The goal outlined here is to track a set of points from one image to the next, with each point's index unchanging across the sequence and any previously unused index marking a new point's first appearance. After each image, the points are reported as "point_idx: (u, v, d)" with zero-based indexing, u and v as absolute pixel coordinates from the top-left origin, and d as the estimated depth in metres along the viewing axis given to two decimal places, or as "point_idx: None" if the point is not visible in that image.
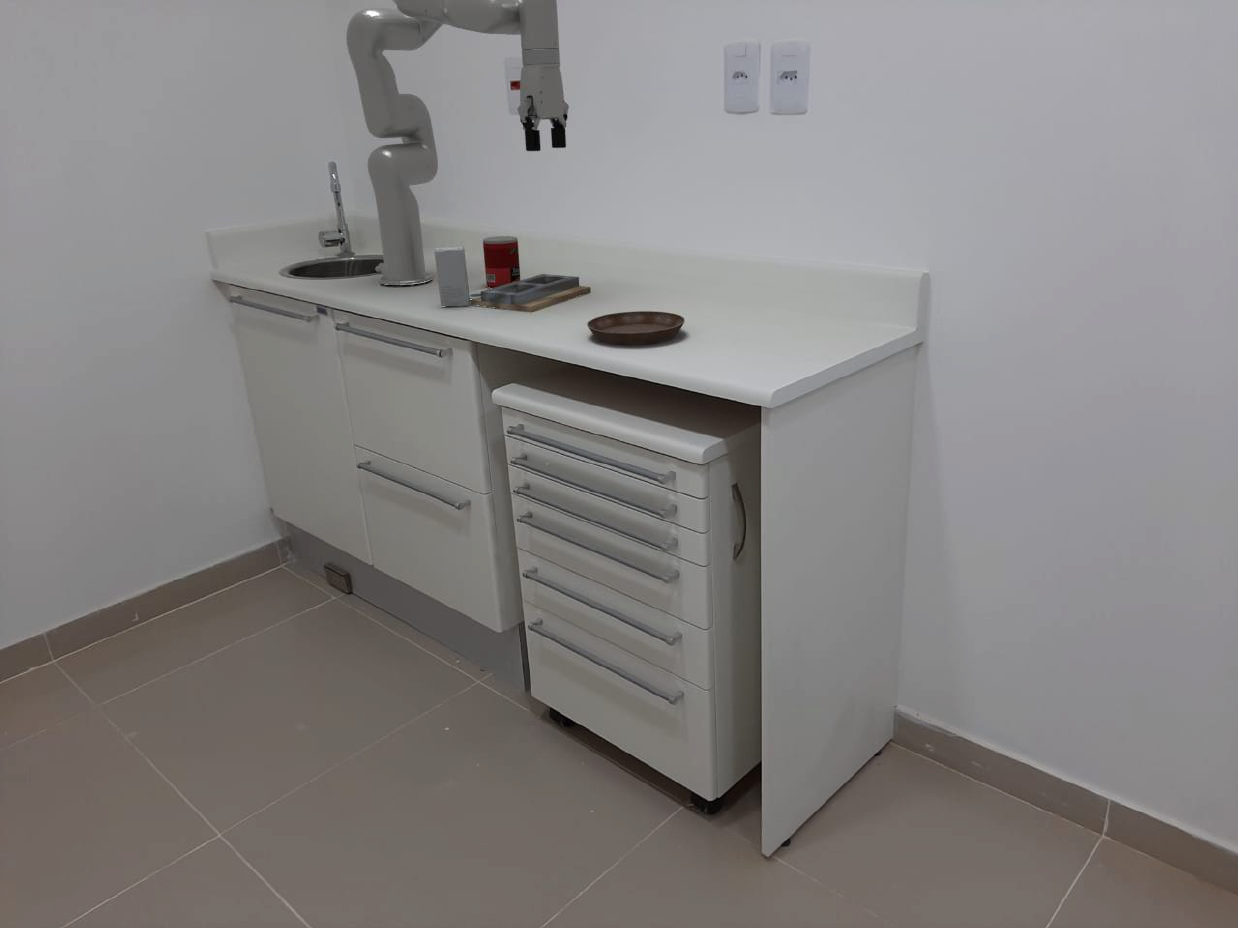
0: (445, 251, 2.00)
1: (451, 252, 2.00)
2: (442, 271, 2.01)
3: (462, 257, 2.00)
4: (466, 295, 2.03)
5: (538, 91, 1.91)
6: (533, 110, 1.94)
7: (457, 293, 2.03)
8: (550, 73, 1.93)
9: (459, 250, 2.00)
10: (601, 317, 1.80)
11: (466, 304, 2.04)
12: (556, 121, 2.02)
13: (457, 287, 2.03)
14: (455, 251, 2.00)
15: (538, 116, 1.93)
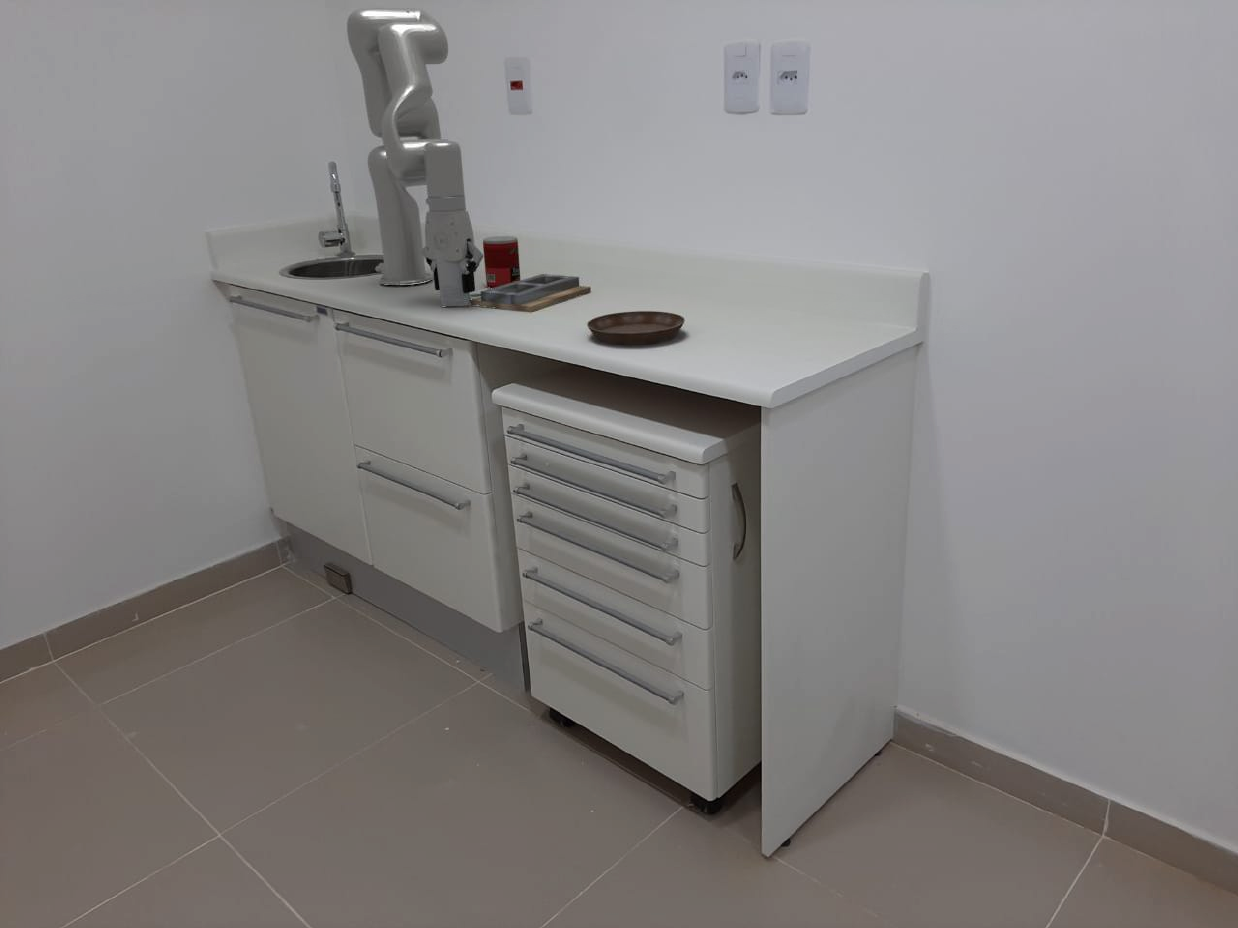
0: None
1: None
2: (442, 271, 2.01)
3: None
4: (466, 295, 2.03)
5: None
6: None
7: (457, 292, 2.03)
8: None
9: None
10: (601, 317, 1.80)
11: (466, 304, 2.04)
12: None
13: (458, 287, 2.03)
14: None
15: None
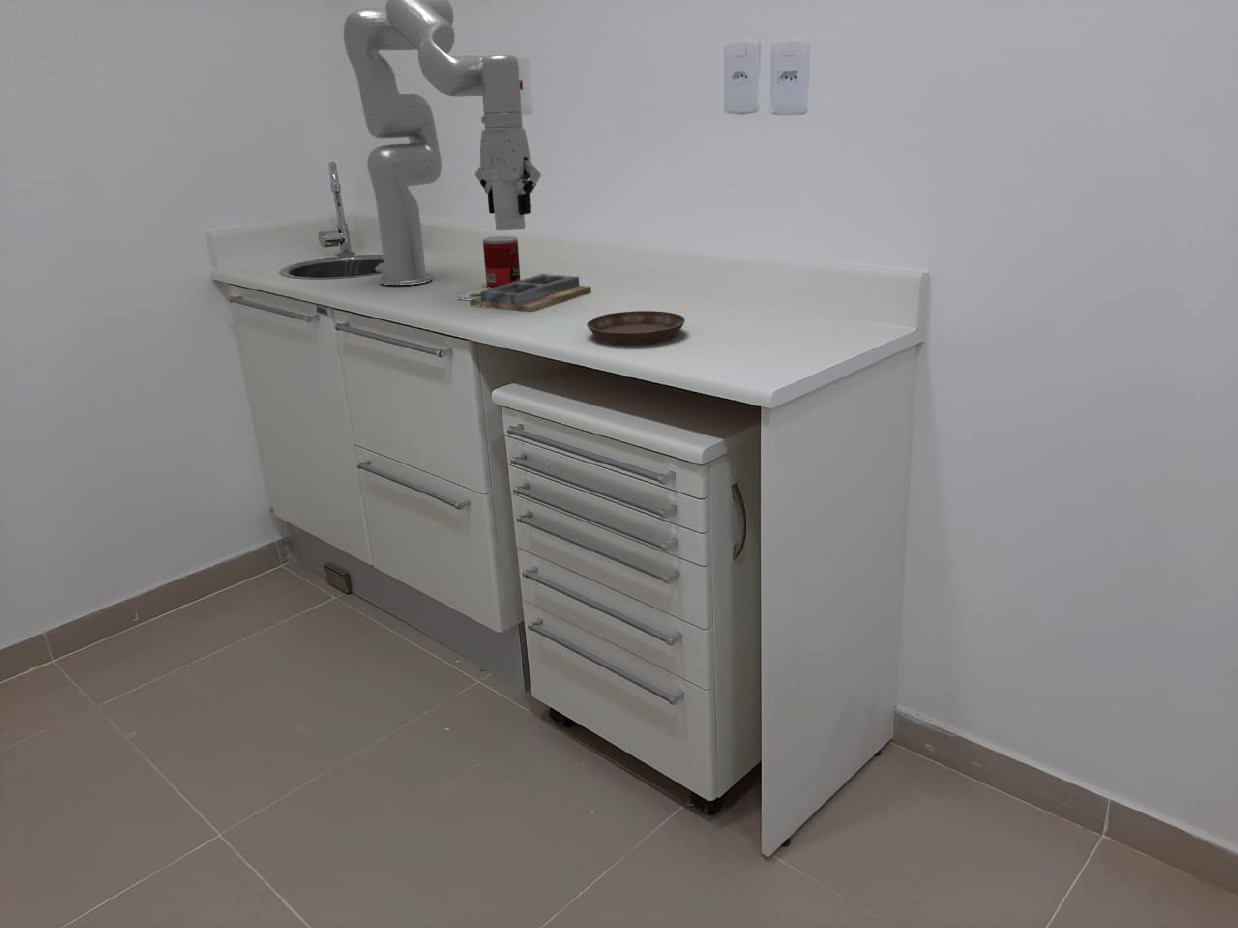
0: None
1: None
2: (498, 191, 1.95)
3: None
4: (522, 217, 1.98)
5: None
6: None
7: (512, 215, 1.97)
8: None
9: None
10: (601, 317, 1.80)
11: (521, 227, 1.98)
12: None
13: (513, 209, 1.97)
14: None
15: (530, 176, 1.95)
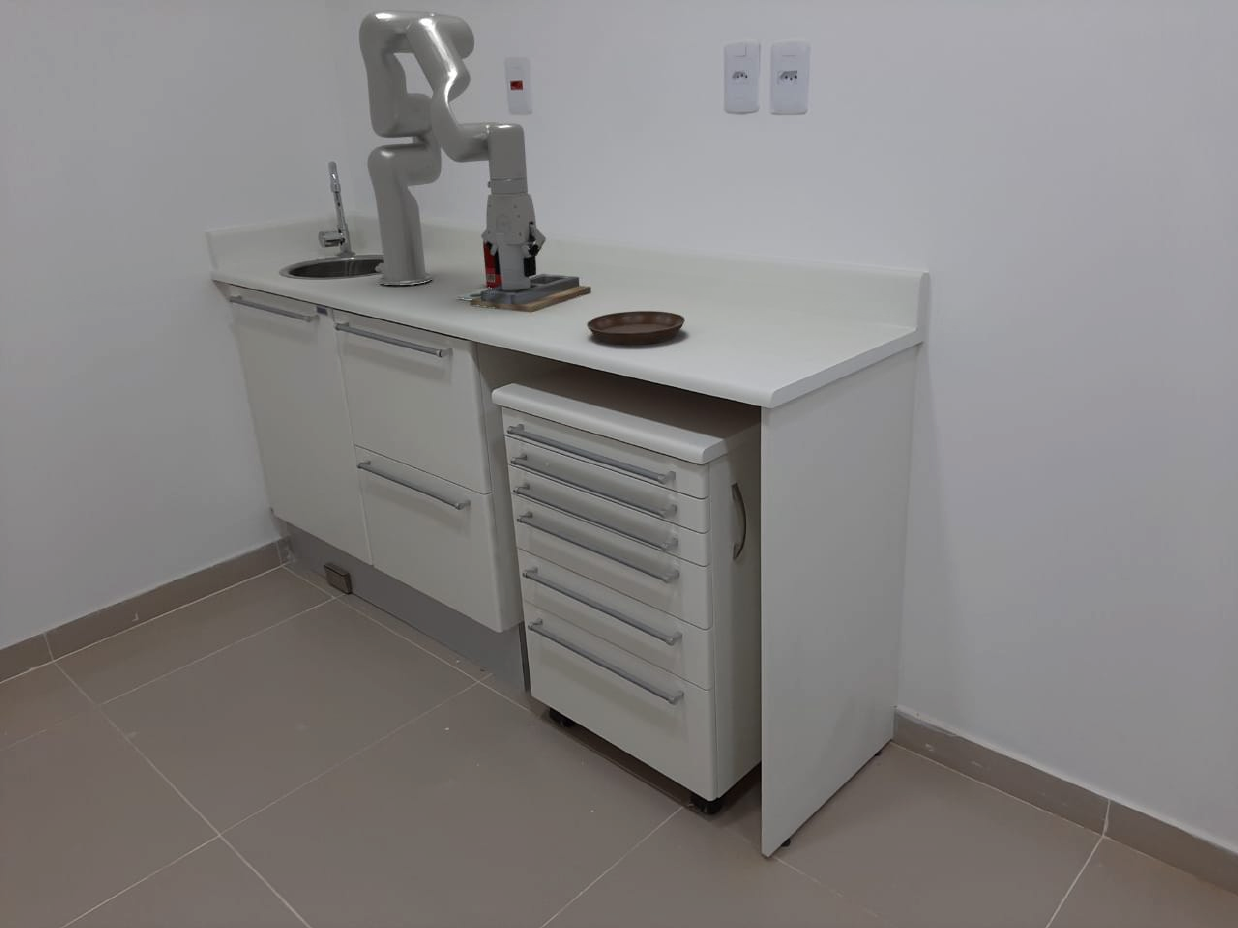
0: None
1: None
2: (504, 253, 2.00)
3: None
4: (527, 278, 2.02)
5: None
6: None
7: (518, 275, 2.02)
8: None
9: None
10: (601, 317, 1.80)
11: (527, 287, 2.03)
12: None
13: (519, 270, 2.01)
14: None
15: (535, 240, 2.00)
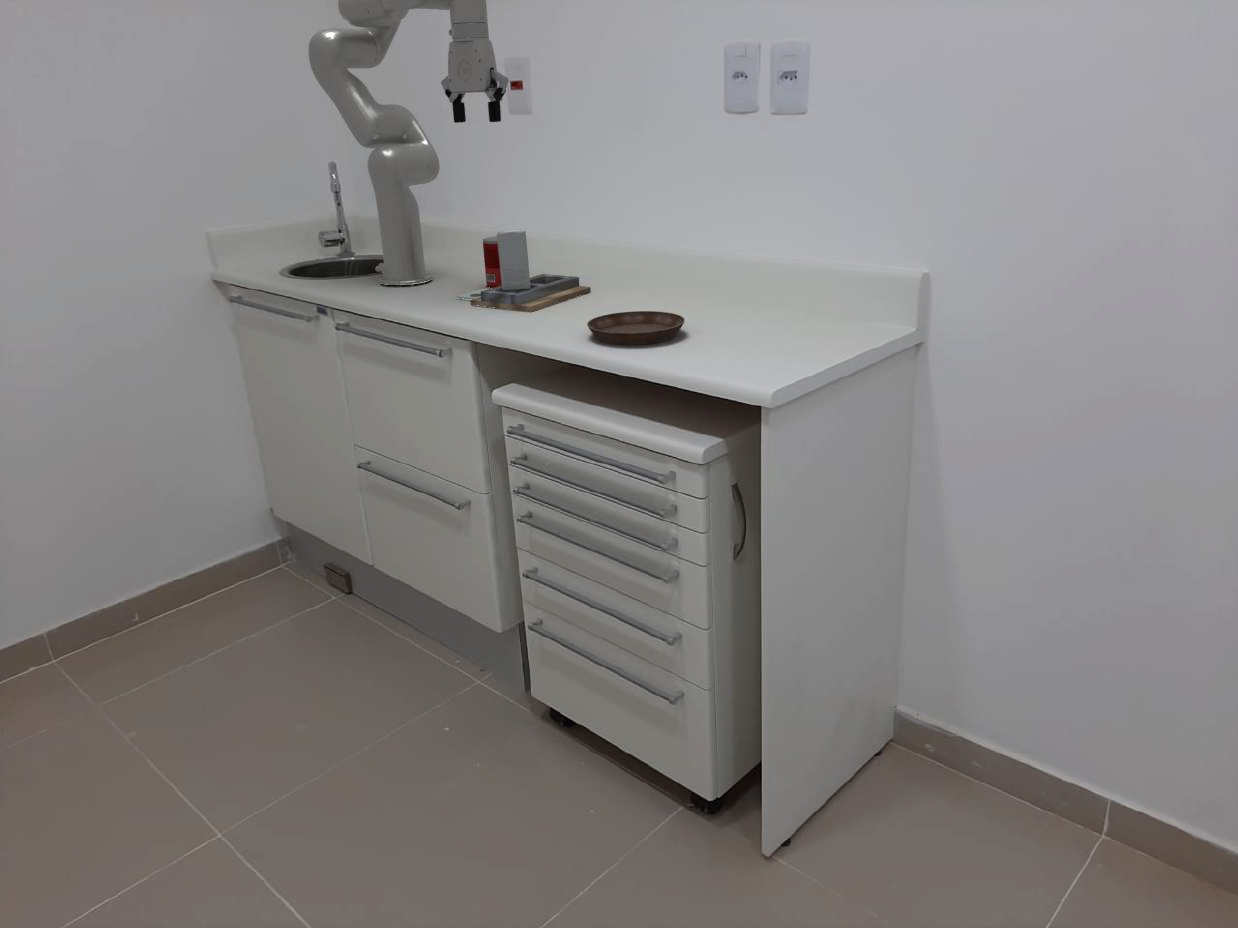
0: (507, 233, 1.98)
1: (513, 234, 1.98)
2: (504, 253, 2.00)
3: (524, 239, 1.99)
4: (527, 278, 2.02)
5: None
6: None
7: (518, 275, 2.02)
8: None
9: (521, 232, 1.98)
10: (601, 316, 1.80)
11: (527, 287, 2.03)
12: None
13: (519, 270, 2.01)
14: (517, 233, 1.98)
15: (496, 88, 2.01)
